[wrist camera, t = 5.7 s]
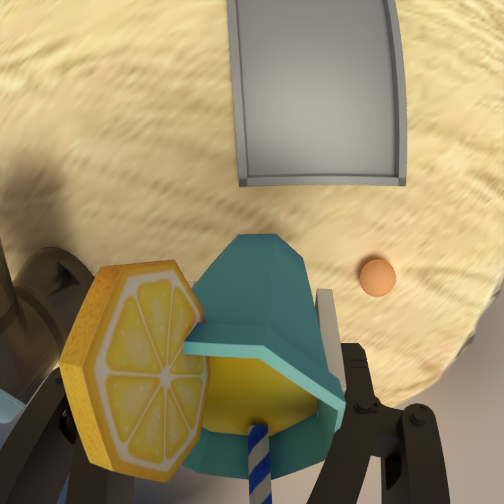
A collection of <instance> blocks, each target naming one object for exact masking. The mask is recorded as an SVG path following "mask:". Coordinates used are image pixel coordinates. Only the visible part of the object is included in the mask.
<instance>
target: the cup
mask: <svg viewBox="0 0 504 504" xmlns="http://www.w3.org/2000/svg"><path fill="white" fill-rule="evenodd" d="M58 363H59V367H60V371H61V375H62V379H63V383H64V387H65V391H66V394H67V398H68V401H69V405H70V408H71V411H72V414H73V418H74V421H75V424H76V427H77V430H78V432H79V435H80V438H81V441H82V443H83V446H84V449H85V451H86V454H87V456H88V459H89V461H90V463H93V464H95V465H98V466H100V467H103V468H105V469H108V470H111V471H114V472H117V473H122V474H126V475H130V476H134V477H139V478H144V479H149V480H154V481H159V482H166V483H167V482H168V480H169V479H170V478H171V477H172V475H173V474H174V472H175V471H176V470H177V468H178V467H179V466H180V465H183V466H185V467H187V468H189V469H191V470H193V471H195V472H197V473H202V474H209V475H215V476H223V477H231V478H240V479H249V495H250V496H249V497H250V504H272V493H271V480H273V479H276V478H279V477H282V476H285V475H288V474H291V473H293V472H296V471H299V470H302V469H304V468H307V467H309V466H312V465H314V464H317V463H319V462H322V461H324V460H325V459H326V457H327V454H328V452H329V449H330V447H331V444H332V441H333V439H334V436H335V433H336V431H337V430H338V429H339V428H340V427H341V423H342V419H343V415H344V410H345V405H346V401H345V398H344V394H343V391H342V387H341V384H340V380H339V379H338V378H337V377H335V376H334V375H333V374H331V373H330V372H329V370H328V365H327V360H326V355H325V351H324V346H323V341H322V337H321V332H320V328H319V323H318V319H317V315H316V310H315V306H314V302H313V297H312V293H311V289H310V285H309V281H308V277H307V272H306V268H305V264H304V260H303V258H302V257H301V256H300V255H299V254H298V253H297V252H296V251H295V250H294V249H292V248H291V247H290V246H289V245H288V244H287V243H286V242H285V241H283V240H282V239H281V238H280V237H279V236H278V235H277V234H241V235H238V236H237V237H236V238H235V239H234V240H233V241H232V242H231V243H230V244H229V245H228V246H227V248H226V249H225V250H224V251H223V252H222V253H221V254H220V255H219V256H218V257H217V258H216V260H215V261H214V262H213V263H212V264H211V266H210V267H209V268H208V269H207V270H206V272H205V273H204V274H203V275H202V276H201V278H200V279H199V280H198V281H197V283H196V284H195V285H194V286H193V287H192V289H191V288H190V286H189V284H188V283H187V281H186V279H185V277H184V276H183V274H182V272H181V270H180V269H179V267H178V265H177V263H176V262H175V260H168V261H155V262H144V263H134V264H124V265H114V266H103V267H100V269H99V271H98V273H97V275H96V277H95V279H94V281H93V283H92V285H91V287H90V289H89V291H88V293H87V295H86V298H85V300H84V302H83V304H82V306H81V308H80V311H79V313H78V315H77V317H76V320H75V322H74V324H73V327H72V329H71V332H70V334H69V336H68V339H67V341H66V344H65V346H64V349H63V351H62V354H61V356H60V359H59V362H58ZM318 410H319V412H318ZM317 412H318V418H317Z"/></svg>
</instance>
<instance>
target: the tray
mask: <svg viewBox="0 0 504 504" xmlns="http://www.w3.org/2000/svg"><path fill="white" fill-rule="evenodd" d="M227 12H228V29H229V44H230V60H231V75H232V90H233V105H234V120H235V134H236V148H237V162H238V176H239V187H246V186H275V185H382V186H406V171H407V106H406V86H405V73H404V61H403V52H402V43H401V35H400V28H399V21H398V15H397V9H396V3H395V0H227Z"/></svg>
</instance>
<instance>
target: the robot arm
mask: <svg viewBox="0 0 504 504" xmlns="http://www.w3.org/2000/svg"><path fill="white" fill-rule="evenodd" d="M93 281H94V278H93V277H92V275H91V274H90V272H89V271H88V270H87V269H86V267H85V266H84V265H83V264H82V263H81V262H80V261H79V260H77V259H76V258H75V257H74V256H72V255H71V254H69V253H68V252H66V251H64V250H61V249H58V248H53V247H48V248H43V249H41V250H39V251H38V252H36V253H35V254H33V255H32V256H31V257H29V258H28V259H27V261H26V262H25V264H24V265H23V267H22V268H21V270H20V271H19V273H18V275H17V276H16V278H15V280H14V281H13V283H12V280H11V277H10V273H9V270H8V266H7V263H6V259H5V255H4V251H3V247H2V243H1V239H0V423H9V422H10V421H12V420H13V419H14V417H15V416H16V415H17V414H18V413H19V412H20V410H21V409H22V408H25V406H26V404H27V403H28V401H29V400H30V398H31V397H32V396H33V394H34V393H35V391H36V390H37V389H38V387H39V386H40V384H41V383H42V382H43V380H44V379H45V378H46V376H47V375H48V374H49V372H50V371H51V370H52V368H53V367H54V366H55V364H56V363H57V362H58V361H59V359H60V356H61V354H62V351H63V349H64V346H65V344H66V341H67V339H68V336H69V334H70V332H71V329H72V327H73V324H74V322H75V320H76V317H77V315H78V313H79V311H80V308H81V306H82V304H83V302H84V300H85V298H86V295H87V293H88V291H89V289H90V287H91V285H92V283H93ZM187 283H188V284H189V286H190V288H191V289H192V287H193V286H194V285H195V284H196V281H187ZM315 310H316V315H317V319H318V323H319V328H320V332H321V337H322V341H323V346H324V351H325V355H326V360H327V365H328V370H329V372H330V373H331V374H333V375H334V376H335V377H337V378H338V379H339V380H340V384H341V387H342V391H343V394H344V398H345V401H346V405H345V410H344V415H343V419H342V423H341V427H340V428H339V429H338V430H337V431H336V433H335V436H334V439H333V441H332V444H331V447H330V449H329V452H328V454H327V457H326V459H325V462H324V465H323V467H322V470H321V472H320V474H319V477H318V479H317V481H316V484H315V486H314V488H313V490H312V493H311V495H310V497H309V499H308V501H307V503H306V504H356V502H357V499H358V496H359V493H360V490H361V487H362V484H363V481H364V478H365V474H366V471H367V467H368V464H369V460H370V457H371V455H372V456H376V457H381V484H382V504H450V497H449V489H448V481H447V475H446V469H445V462H444V457H443V451H442V446H441V441H440V436H439V431H438V427H437V422H436V418H435V415H434V413H433V411H432V410H431V409H430V408H429V407H428V406H425V405H423V404H417V403H416V404H411V405H409V406H408V407H406V408H405V409H404V410H398V409H394V408H390V407H387V406H385V405H383V404H381V402H380V400H379V399H378V398H377V397H376V396H375V395H374V391H373V386H372V381H371V376H370V371H369V368H368V362H367V358H366V353H365V350H364V349H363V348H362V347H361V345H360V344H359V343H340V336H339V330H338V323H337V317H336V311H335V305H334V299H333V293H332V289H317V292H316V301H315ZM64 411H65V413H64ZM318 412H319V410H318ZM318 412H317V418H318ZM63 413H64V414H63ZM62 414H63V415H62ZM69 473H70V476H69V482H68V489H67V496H66V503H65V504H134V480H135V477H134V476H130V475H126V474H122V473H117V472H114V471H111V470H108V469H105V468H103V467H100V466H98V465H95V464H93V463H90V461H89V459H88V456H87V454H86V451H85V449H84V446H83V443H82V441H81V438H80V435H79V432H78V430H77V427H76V424H75V421H74V418H73V414H72V411H71V408H70V405H69V401H68V398H67V394H66V391H65V387H64V383H63V379H62V375H61V371H60V367H58V368H56V369H55V370H53V371H52V372H51V373H50V374H49V376H48V377H47V379H46V380H45V382H44V383H43V384H42V386H41V387H40V389H39V391H38V392H37V393H36V395H35V396H34V398H33V399H32V401H31V402H30V404H29V405H28V407H27V408H26V410H25V411H24V413H23V414H22V416H21V418H20V419H19V421H18V422H17V424H16V425H15V427H14V428H13V430H12V432H11V433H10V435H9V436H8V438H7V440H6V441H5V443H4V445H3V446H2V448H1V450H0V504H56V503H57V500H58V498H59V496H60V493H61V491H62V489H63V486H64V484H65V482H66V480H67V477H68V475H69Z"/></svg>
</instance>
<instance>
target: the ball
mask: <svg viewBox="0 0 504 504" xmlns="http://www.w3.org/2000/svg"><path fill="white" fill-rule="evenodd" d="M395 281H396V275H395V271H394V269H393V267H392V266H391V265H390V264H389V263H388V262H386V261H384V260H380V259H376V260H372V261H370V262H368V263H367V264H366V265H365V266H364V267H363V268H362V270H361V273H360V284H361V287H362V288H363V290H364V291H365V292H366V293H367V294H369V295H371V296H374V297H381V296H384V295H386V294H388V293H389V292H390V291H391V290H392V289H393V287H394V285H395Z"/></svg>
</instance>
